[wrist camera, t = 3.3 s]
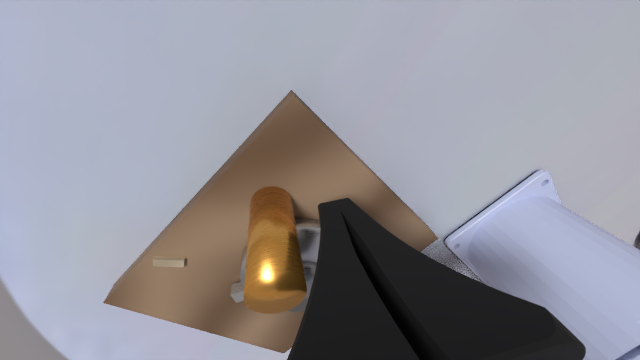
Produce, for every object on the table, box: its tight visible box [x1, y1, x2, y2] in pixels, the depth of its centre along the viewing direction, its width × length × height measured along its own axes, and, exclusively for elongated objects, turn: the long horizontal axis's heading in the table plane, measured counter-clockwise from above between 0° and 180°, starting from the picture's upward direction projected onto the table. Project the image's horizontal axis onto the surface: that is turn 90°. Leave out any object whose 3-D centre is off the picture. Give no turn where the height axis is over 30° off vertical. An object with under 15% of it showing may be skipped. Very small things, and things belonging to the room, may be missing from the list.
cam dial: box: [231, 186, 320, 314], centre depth 12 cm, size 10×8×5 cm
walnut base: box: [104, 90, 438, 353], centre depth 15 cm, size 13×15×1 cm
